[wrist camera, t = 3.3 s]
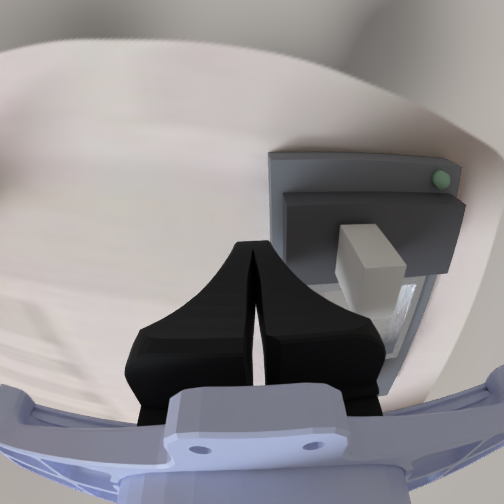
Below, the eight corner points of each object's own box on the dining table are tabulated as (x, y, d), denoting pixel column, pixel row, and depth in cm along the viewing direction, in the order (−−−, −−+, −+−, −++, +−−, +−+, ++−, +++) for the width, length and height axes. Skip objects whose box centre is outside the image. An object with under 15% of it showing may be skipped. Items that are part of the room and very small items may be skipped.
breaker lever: (367, 270, 14) (392, 317, 11) (335, 272, 14) (354, 322, 11) (375, 223, 12) (406, 265, 10) (340, 224, 12) (364, 268, 10)
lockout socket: (392, 346, 19) (396, 357, 18) (297, 358, 19) (299, 369, 18) (418, 265, 16) (426, 275, 15) (303, 273, 16) (306, 285, 15)
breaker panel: (382, 381, 24) (391, 408, 21) (271, 395, 24) (273, 424, 21) (446, 159, 14) (478, 176, 11) (268, 152, 14) (273, 169, 11)
